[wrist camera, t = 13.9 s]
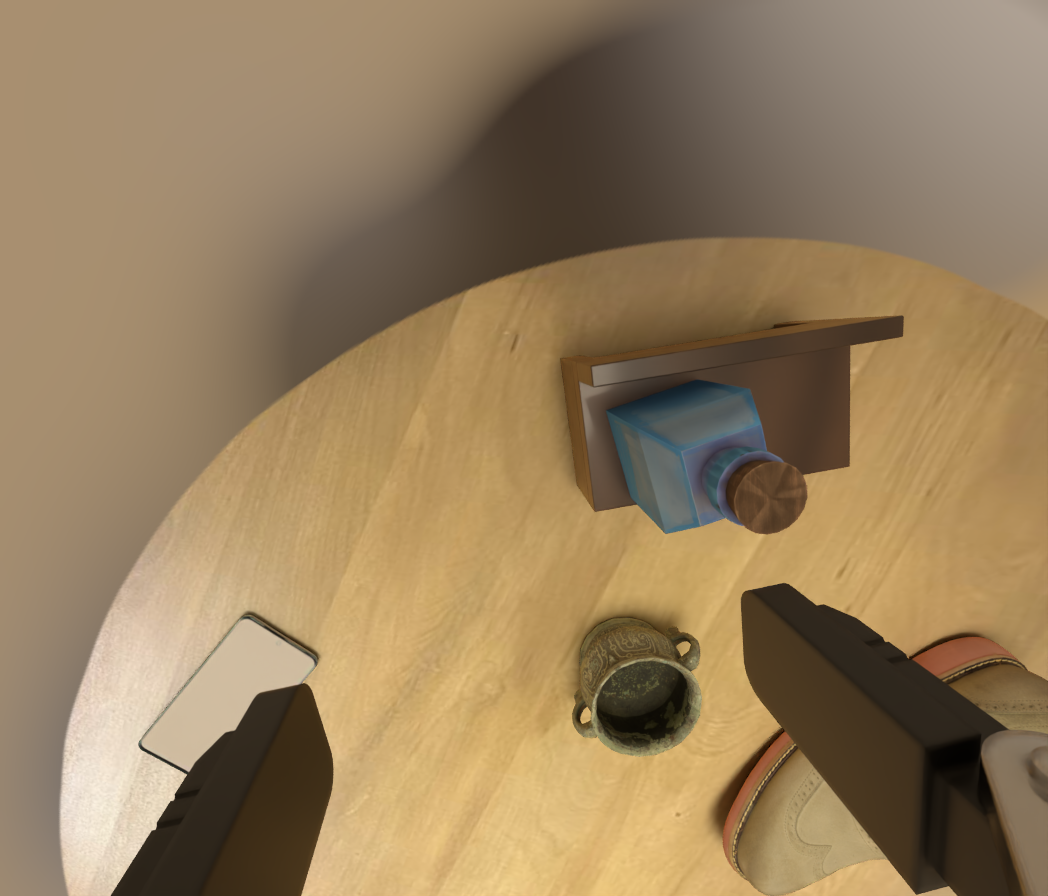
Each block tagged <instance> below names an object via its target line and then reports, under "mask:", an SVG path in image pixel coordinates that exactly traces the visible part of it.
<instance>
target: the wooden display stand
mask: <svg viewBox="0 0 1048 896" xmlns="http://www.w3.org/2000/svg"><path fill="white" fill-rule="evenodd" d="M903 319H904V317H903V316H883V317H865V318H847V319H829V320H810V321H792V322H786V323H779V324H775V325H774V329H770V330H763V331H757V332H751V333H745V334H738V335H732V336H726V337H720V338H713V339H707V340H701V341H695V342H689V343H682V344H676V345H670V346H664V347H657V348H651V349H645V350H639V351H632V352H626V353H620V354H614V355H607V356H601V357H595V358H591V357H585V356H573V357H566V358H561V359H560V360H561V368H562V375H563V383H564V390H565V398H566V406H567V413H568V421H569V428H570V436H571V443H572V451H573V459H574V466H575V474H576V481H577V486H578V487H579V489H580V490H581V492H582V493H583V495H584V496H585V498H586V499H587V501H588V502H589V504H590V505H591V507H592V508H593V510H594V511H595V512H597V511H602V510H608V509H614V508H619V507H625V506H631V505H636V504H637V503H636V502H635V501H634V500H633V499H632V498H631V496H630V493H629V489H628V486H627V482H626V479H625V475H624V472H623V469H622V465H621V462H620V458H619V455H618V451H617V448H616V444H615V441H614V437H613V434H612V430H611V427H610V423H609V420H608V416H607V413H606V410H609V409H612V408H615V407H618V406H620V405H623V404H626V403H629V402H632V401H635V400H638V399H641V398H644V397H647V396H650V395H653V394H656V393H659V392H662V391H664V390H667V389H670V388H673V387H676V386H679V385H682V384H685V383H688V382H691V381H694V380H697V379H698V380H704V381H709V382H714V383H720V384H725V385H731V386H736V387H742V388H747V389H750V391H751V394H752V397H753V400H754V403H755V406H756V409H757V412H758V415H759V418H760V421H761V425H762V430H763V434H764V439H765V444H766V449H767V452H770V453H772V454H774V455H776V456H778V457H780V458H781V459H782V460H783V461H784V463H788V464H790V465H792V466H794V467H796V468H797V469H798V470H799V472H800V473H801V474H802V475H805V474H810V473H816V472H821V471H827V470H833V469H838V468H844V467H849V464H850V345H856V344H863V343H869V342H875V341H881V340H887V339H893V338H899V337H903Z"/></svg>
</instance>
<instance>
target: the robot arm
mask: <svg viewBox="0 0 1048 896" xmlns="http://www.w3.org/2000/svg"><path fill="white" fill-rule="evenodd" d="M741 613H742V632H743V652H744V664H745V669H746V673H747V676H748V679H749V681H750V684H751V686H752V688H753V690H754V692H755V693H756V695H757V696H758V698H759V699H760V701H761V702H762V703H763V704H764V706H765V707H766V708H767V709H768V711H769V712H770V713H771V714H772V716H773V717H774V718H775V719H776V720H777V722H778V723H779V724H780V725H781V727H782V728H783V729H784V730H785V732H786V733H787V734H788V735H789V737H790V738H791V739H792V740H793V742H794V743H795V744H796V745H797V747H798V748H799V749H800V750H801V752H802V753H803V754H804V755H805V757H806V758H807V759H808V760H809V762H810V763H811V764H812V765H813V767H814V768H815V769H816V770H817V772H818V773H819V774H820V775H821V777H822V778H823V779H824V780H825V782H826V783H827V784H828V785H829V787H830V788H831V789H832V790H833V792H834V793H835V794H836V795H837V797H838V798H839V799H840V800H841V801H842V803H843V804H844V805H845V806H846V808H847V809H848V810H849V811H850V813H851V814H852V815H853V816H854V818H855V819H856V820H857V821H858V823H859V824H860V825H861V826H862V828H863V829H864V830H865V831H866V833H867V834H868V835H869V836H870V838H871V839H872V840H873V841H874V843H875V844H876V845H877V846H878V848H879V849H880V850H881V851H882V853H883V854H884V855H885V856H886V858H887V859H888V860H889V861H890V863H891V864H892V865H893V866H894V868H895V869H896V870H897V871H898V873H899V874H900V875H901V876H902V878H903V879H904V880H905V881H906V882H907V884H908V885H909V886H910V887H911V889H912V890H913V891H914V892H915V894H916V895H917V894H921V893H925V892H928V891H932V890H936V889H939V888H943V887H947V886H949V887H950V888H951V889H952V890H953V891H954V892H955V893H956V895H957V896H1048V734H1046V733H1042V732H1036V731H1030V730H1009V729H1008V728H1006V727H1005V726H1004V725H1002V724H1001V723H1000V722H998V721H997V720H995V719H994V718H993V717H991V716H990V715H989V714H987V713H986V712H984V711H983V710H982V709H980V708H979V707H978V706H976V705H975V704H973V703H972V702H971V701H969V700H968V699H967V698H965V697H964V696H962V695H961V694H960V693H958V692H957V691H956V690H954V689H953V688H951V687H950V686H949V685H947V684H946V683H945V682H943V681H942V680H941V679H939V678H938V677H936V676H935V675H934V674H932V673H931V672H930V671H928V670H927V669H925V668H924V667H923V666H921V665H920V664H919V663H917V662H916V661H914V660H913V659H910V660H909V659H908V658H907V656H906V654H905V653H903V652H902V651H901V650H899V649H898V648H897V647H895V646H894V645H892V644H891V643H890V642H885V641H884V639H883V637H881V636H880V635H879V634H877V633H876V632H875V631H873V630H872V629H871V628H869V627H868V626H866V625H865V624H864V623H862V622H861V621H860V620H858V619H857V618H855V617H852V616H850V615H848V614H845V613H843V612H841V611H838V610H836V609H833V608H831V607H829V606H826V605H824V604H823V605H818V606H817V605H815V604H814V603H813V602H811V601H810V600H809V599H807V598H806V597H805V596H804V595H802V594H801V593H800V592H798V591H797V590H796V589H795V588H793V587H792V586H790V585H789V584H786V583H782V584H777V585H772V586H767V587H763V588H758V589H753V590H748V591H745V592H744V593H743V594H742V597H741ZM332 785H333V759H332V753H331V750H330V746H329V743H328V740H327V737H326V734H325V731H324V727H323V724H322V721H321V718H320V715H319V711H318V708H317V705H316V702H315V699H314V696H313V693H312V690H311V688H310V687H309V686H308V685H307V684H305V683H303V684H298V685H293V686H289V687H284V688H279V689H274V690H270V691H265V692H260V693H259V694H257V695H256V696H255V697H254V699H253V700H252V702H251V704H250V706H249V707H248V709H247V711H246V712H245V714H244V716H243V718H242V719H241V721H240V723H239V724H238V726H237V728H236V730H234V731H229V732H225V733H224V734H223V735H222V736H221V737H220V738H219V739H218V740H217V741H216V742H215V743H214V744H213V745H212V746H211V747H210V748H209V749H208V750H207V751H206V752H205V753H204V754H203V755H202V756H201V757H200V758H199V759H198V760H197V761H196V762H195V763H194V765H193V767H192V768H191V770H190V771H189V773H188V774H187V776H186V778H185V779H184V781H183V782H182V784H181V786H180V787H179V789H178V790H177V792H176V793H175V799H174V801H170V803H169V804H168V806H167V808H166V809H165V811H164V812H163V814H162V816H161V817H160V819H159V820H158V822H157V828H156V830H153V831H151V833H150V834H149V836H148V838H147V839H146V841H145V842H144V844H143V846H142V847H141V849H140V850H139V852H138V853H137V855H136V857H135V858H134V860H133V861H132V863H131V864H130V866H129V868H128V869H127V871H126V872H125V874H124V876H123V877H122V879H121V880H120V882H119V883H118V885H117V887H116V888H115V890H114V891H113V893H112V894H111V896H301V894H302V891H303V888H304V884H305V881H306V877H307V874H308V871H309V867H310V864H311V860H312V857H313V854H314V850H315V847H316V843H317V840H318V837H319V833H320V830H321V826H322V823H323V820H324V816H325V813H326V809H327V806H328V803H329V799H330V796H331V791H332Z"/></svg>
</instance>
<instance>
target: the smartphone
mask: <svg viewBox="0 0 1048 896" xmlns="http://www.w3.org/2000/svg"><path fill="white" fill-rule="evenodd" d="M317 663H318V659H317V657H316V656H315V655H314V654H313V653H311V652H310V651H308V650H306V649H305V648H303V647H302V646H300V645H298V644H297V643H295V642H294V641H292V640H291V639H289V638H287V637H286V636H284V635H283V634H281V633H279V632H278V631H276V630H275V629H273V628H272V627H270V626H268V625H267V624H265V623H264V622H262V621H260V620H259V619H257V618H256V617H254V616H252V615H245V616H243V617H241V618H240V619H239V621H238V622H237V623H236V624H235V625H234V627H233V628H232V629H231V630H230V631H229V633H228V634H227V635H226V636H225V638H224V639H223V640H222V641H221V642H220V644H219V645H218V646H217V647H216V649H215V650H214V651H213V652H212V653H211V655H210V656H209V657H208V658H207V659H206V661H205V662H204V663H203V664H202V666H201V667H200V668H199V669H198V670H197V672H196V673H195V674H194V675H193V676H192V678H191V679H190V680H189V681H188V683H187V684H186V685H185V686H184V687H183V689H182V690H181V691H180V692H179V694H178V695H177V696H176V697H175V698H174V700H173V701H172V702H171V703H170V704H169V706H168V707H167V708H166V709H165V711H164V712H163V713H162V714H161V715H160V717H159V718H158V719H157V720H156V721H155V723H154V724H153V725H152V726H151V728H150V729H149V730H148V731H147V732H146V734H145V735H144V736H143V737H142V739H141V740H140V741H139V744H138V745H139V748H140V749H141V750H143V751H144V752H146V753H148V754H150V755H152V756H154V757H156V758H157V759H159V760H161V761H163V762H165V763H167V764H169V765H170V766H172V767H174V768H176V769H178V770H180V771H182V772H184V773H185V774H188V773H189V771H190V770H191V768H192V767H193V765H194V763H195V762H196V761H197V760H198V759H199V758H200V757H201V756H202V755H203V754H204V753H205V752H206V751H207V750H208V749H209V748H210V747H211V746H212V745H213V744H214V743H215V742H216V741H217V740H218V739H219V738H220V737H221V736H222V735H223V734H224V733H225V732H229V731H234V730H236V728H237V726H238V724H239V723H240V721H241V719H242V718H243V716H244V714H245V712H246V711H247V709H248V707H249V706H250V704H251V702H252V700H253V699H254V697H255V696H256V695H257V694H259V693H260V692H265V691H270V690H274V689H279V688H284V687H289V686H293V685H298V684H301V683H302V682H303V681H304V680H305V679H306V678H307V676H308V675H309V674H310V673H311V672H312V671H313V669H314V668H315V667H316V665H317Z"/></svg>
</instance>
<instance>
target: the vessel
mask: <svg viewBox="0 0 1048 896" xmlns="http://www.w3.org/2000/svg"><path fill="white" fill-rule="evenodd" d="M665 633H666V636H664V635H663V634H661V633H659V632H657V631H656V630H655V629H654V628H653V627H652V626H651V625H649V624H648V623H646V622H644V621H642V620H637V619H633V618H629V617H626V618H613V619H610V620H608V621H606V622H603V623H601V624H599V625H597V626H596V627H595V628H594V629H593V630H592V631H591V632H590V633H589V634H588V636H587V637H586V639H585V641H584V643H583V645H582V647H581V650H580V662H579V663H580V689H579V690H578V691H577V692H576V693H575V695H574V698H575V702H576V705H575V707H574V710H573V713H572V720H573V724H574V727H575V729H576V730H577V731H578V733H580V734H581V735H582V736H583V737H587V738H596V737H597V736H598V738H599V739H600V741H601V742H602V743H603V744H604V745H605V746H607V747H608V748H610V749H611V750H613V751H615V752H618V753H620V754H625V755H632V756H638V757H641V756H651V755H657V754H659V753H662V752H664V751H667V750H669V749H671V748H673V747H675V746H677V745H678V744H680V743H681V742H682V741H683V740H684V739H685V738H686V737H687V736H688V734H689V733H690V732H691V731H692V730H693V728H694V726H695V724H696V722H697V720H698V718H699V716H700V710H701V702H702V696H701V690H700V687H699V684H698V681H697V680H696V678H695V676H694V675H693V674H692V673H691V671H692V670H694V669H696V668H697V666H698V664H699V659H700V646H699V643H698V641H697V640H696V639H695V638H694V637H693V636H692V635H690V634H688V633H684V632H682V633H680V632H679V631H678V628H677V627H674V626H672V627H670V628H668V629H666V630H665ZM684 641H688V642H689V643H690V644H691V646H690V650H689V651H688V652H687V653H686V654H684V655H683V656H682V657H681V655H680V653H679V651H678V650H677V648H676V646H677V645H678V644H679V643H681V642H684ZM586 707H588V708H589V710H590V711H591V720H590V721H589V722H586V723H584V724H582V723H581V721H580V717H581V714H582V712H583V710H584V709H585V708H586Z"/></svg>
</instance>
